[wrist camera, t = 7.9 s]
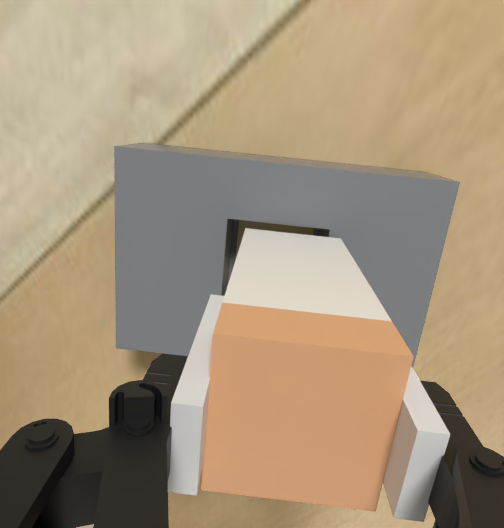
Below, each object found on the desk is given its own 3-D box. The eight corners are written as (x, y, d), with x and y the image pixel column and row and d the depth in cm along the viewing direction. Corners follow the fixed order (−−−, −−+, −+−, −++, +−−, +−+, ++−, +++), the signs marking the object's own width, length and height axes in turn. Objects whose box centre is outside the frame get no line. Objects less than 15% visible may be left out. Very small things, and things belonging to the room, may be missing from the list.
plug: (237, 315, 23) (200, 490, 12) (245, 228, 22) (213, 333, 10) (326, 324, 23) (375, 511, 12) (340, 238, 22) (413, 356, 10)
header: (140, 313, 30) (116, 348, 26) (143, 142, 27) (114, 146, 22) (388, 341, 30) (409, 381, 25) (426, 172, 26) (459, 182, 21)
